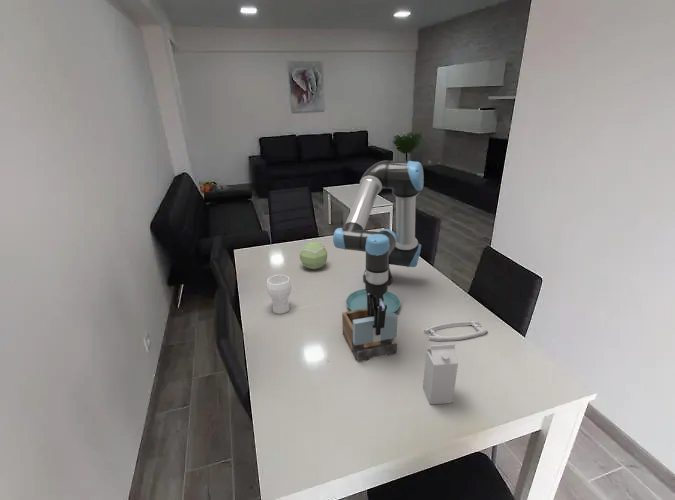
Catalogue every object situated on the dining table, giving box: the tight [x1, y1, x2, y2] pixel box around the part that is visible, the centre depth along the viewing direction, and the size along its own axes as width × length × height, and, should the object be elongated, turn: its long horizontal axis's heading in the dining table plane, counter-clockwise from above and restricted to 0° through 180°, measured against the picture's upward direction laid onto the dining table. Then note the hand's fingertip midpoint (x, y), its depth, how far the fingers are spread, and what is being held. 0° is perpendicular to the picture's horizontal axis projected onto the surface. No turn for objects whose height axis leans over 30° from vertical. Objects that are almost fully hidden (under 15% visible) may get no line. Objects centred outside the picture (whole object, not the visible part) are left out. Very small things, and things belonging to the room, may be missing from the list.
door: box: [353, 312, 399, 345], centre depth 125 cm, size 16×2×9 cm, turn 106°
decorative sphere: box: [299, 241, 328, 270], centre depth 197 cm, size 15×15×15 cm
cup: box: [266, 274, 292, 315], centre depth 156 cm, size 11×11×15 cm
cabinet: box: [341, 308, 398, 363], centre depth 133 cm, size 16×18×10 cm
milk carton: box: [422, 343, 459, 405], centre depth 106 cm, size 7×7×19 cm
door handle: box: [423, 320, 489, 342], centre depth 139 cm, size 3×10×25 cm
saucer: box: [345, 288, 401, 314], centre depth 158 cm, size 24×24×3 cm
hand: (375, 338), depth 127 cm, fingers closed on door, 2 cm apart
